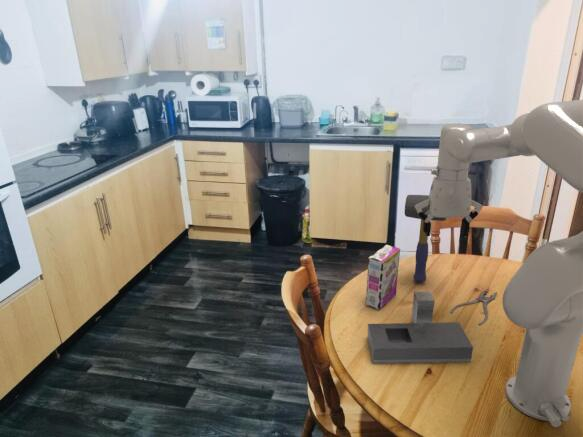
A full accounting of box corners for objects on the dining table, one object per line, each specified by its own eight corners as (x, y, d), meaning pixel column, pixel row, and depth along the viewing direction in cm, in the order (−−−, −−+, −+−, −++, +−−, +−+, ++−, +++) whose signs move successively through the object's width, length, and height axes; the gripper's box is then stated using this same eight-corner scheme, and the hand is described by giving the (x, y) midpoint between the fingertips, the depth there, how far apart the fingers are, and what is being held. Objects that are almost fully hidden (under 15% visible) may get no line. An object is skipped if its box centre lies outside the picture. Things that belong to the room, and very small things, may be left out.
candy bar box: (380, 311, 128) (382, 262, 122) (365, 305, 131) (367, 257, 124) (397, 294, 136) (401, 247, 129) (383, 289, 139) (385, 243, 132)
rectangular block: (470, 362, 107) (473, 347, 105) (373, 363, 108) (374, 348, 106) (457, 336, 116) (459, 322, 114) (367, 337, 117) (368, 323, 115)
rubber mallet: (398, 284, 141) (404, 198, 130) (401, 273, 147) (408, 190, 136) (438, 291, 137) (448, 202, 125) (440, 279, 143) (450, 194, 132)
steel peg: (431, 328, 120) (434, 300, 116) (415, 328, 120) (418, 300, 116) (427, 318, 124) (430, 291, 120) (411, 318, 124) (414, 291, 121)
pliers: (448, 314, 124) (465, 283, 140) (448, 317, 125) (465, 285, 140) (484, 325, 119) (498, 291, 135) (484, 327, 120) (497, 293, 135)
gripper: (421, 178, 108) (415, 240, 115) (492, 177, 107) (482, 239, 113) (414, 169, 115) (410, 228, 121) (481, 168, 114) (473, 228, 120)
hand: (445, 234), depth 117 cm, fingers open, 9 cm apart
